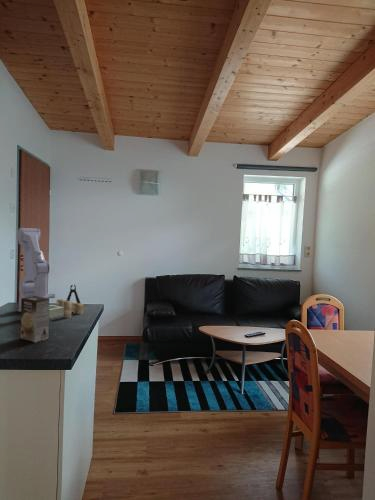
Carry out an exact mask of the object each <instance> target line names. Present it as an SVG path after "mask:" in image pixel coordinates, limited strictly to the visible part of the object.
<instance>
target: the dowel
mask: <svg viewBox="0 0 375 500" xmlns="http://www.w3.org/2000/svg"><path fill="white" fill-rule="evenodd" d="M72 302H73V301H72V300H70V301H64V315H63V319H71V318H72V312H71V308H72Z"/></svg>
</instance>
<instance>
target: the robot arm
mask: <svg viewBox="0 0 375 500" xmlns="http://www.w3.org/2000/svg"><path fill="white" fill-rule="evenodd" d="M40 239H41V229H40V228H38V227H37V228H33V227H32V228H30V227H28V228H27V227H19V228H18V230H17V242H18V245H20V246H21V247H22V255H23V256H22V257H23V267H24V277H22V278H21V279H20V281H19V286H18V289H19V293H20V294H21V295H20V297H19V301H18V303H19V307H18V309H17V312H20V313H21V298H26V297H32V296H38V297H43V298H48V299H49V300H50V299H55V298H56V293H48V274H49V273H50V263H49V262H48V260H46V259H45V254H44V252H43V251H42V250H41V249H40V243H39V241H40Z"/></svg>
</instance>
